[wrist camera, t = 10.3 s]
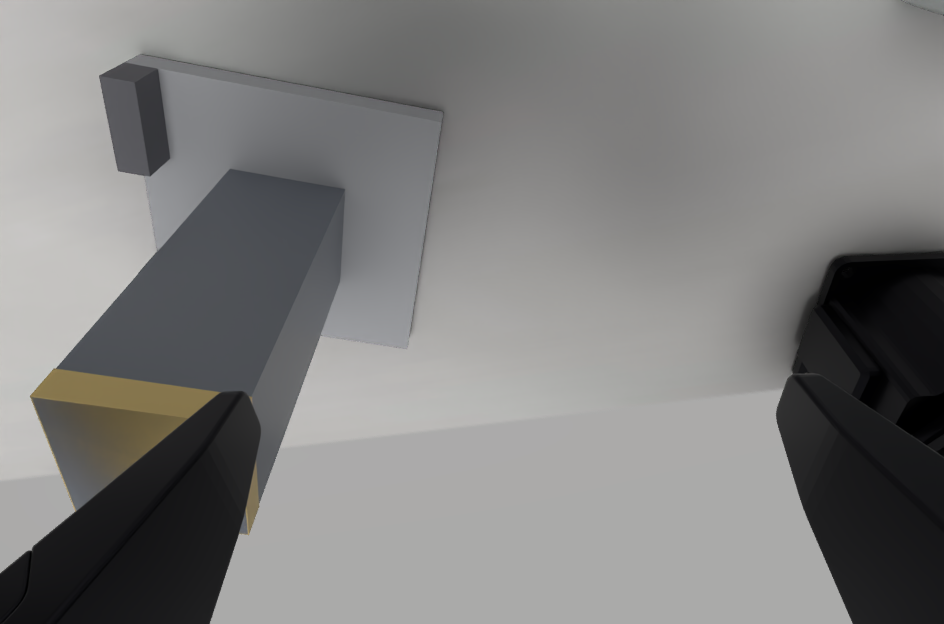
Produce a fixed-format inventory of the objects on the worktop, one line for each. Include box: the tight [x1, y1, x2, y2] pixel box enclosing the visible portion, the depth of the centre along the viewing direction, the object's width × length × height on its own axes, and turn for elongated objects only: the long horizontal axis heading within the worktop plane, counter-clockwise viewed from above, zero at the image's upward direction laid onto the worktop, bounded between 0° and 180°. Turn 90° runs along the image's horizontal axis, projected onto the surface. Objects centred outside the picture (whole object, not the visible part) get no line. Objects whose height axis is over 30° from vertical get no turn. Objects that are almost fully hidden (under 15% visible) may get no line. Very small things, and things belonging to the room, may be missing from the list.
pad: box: [99, 54, 443, 349], centre depth 21 cm, size 10×10×2 cm
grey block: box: [30, 169, 345, 535], centre depth 17 cm, size 4×4×11 cm
